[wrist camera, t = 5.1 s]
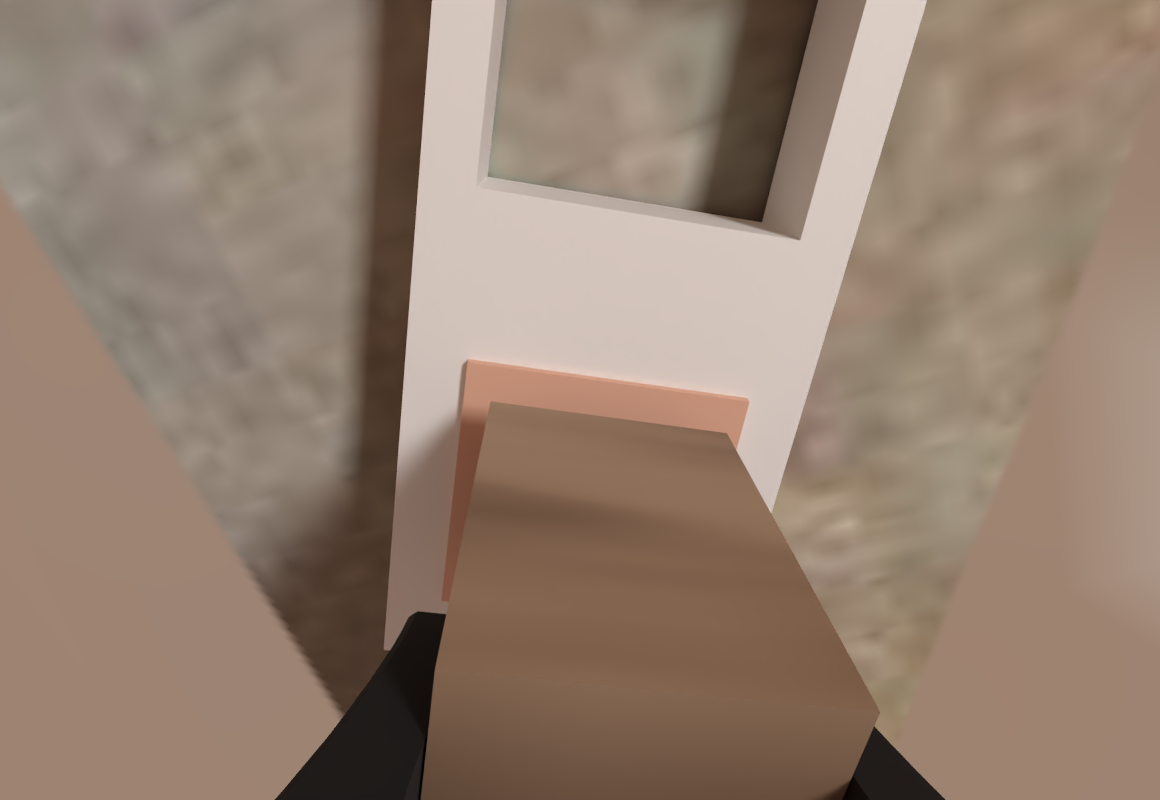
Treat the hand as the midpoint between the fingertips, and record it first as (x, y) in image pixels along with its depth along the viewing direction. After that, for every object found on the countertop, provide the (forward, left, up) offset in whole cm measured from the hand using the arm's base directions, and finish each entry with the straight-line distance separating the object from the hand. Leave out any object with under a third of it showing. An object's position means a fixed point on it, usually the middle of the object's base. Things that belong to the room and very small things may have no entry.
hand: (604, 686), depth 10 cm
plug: (0, 0, -4) cm, 4 cm away
